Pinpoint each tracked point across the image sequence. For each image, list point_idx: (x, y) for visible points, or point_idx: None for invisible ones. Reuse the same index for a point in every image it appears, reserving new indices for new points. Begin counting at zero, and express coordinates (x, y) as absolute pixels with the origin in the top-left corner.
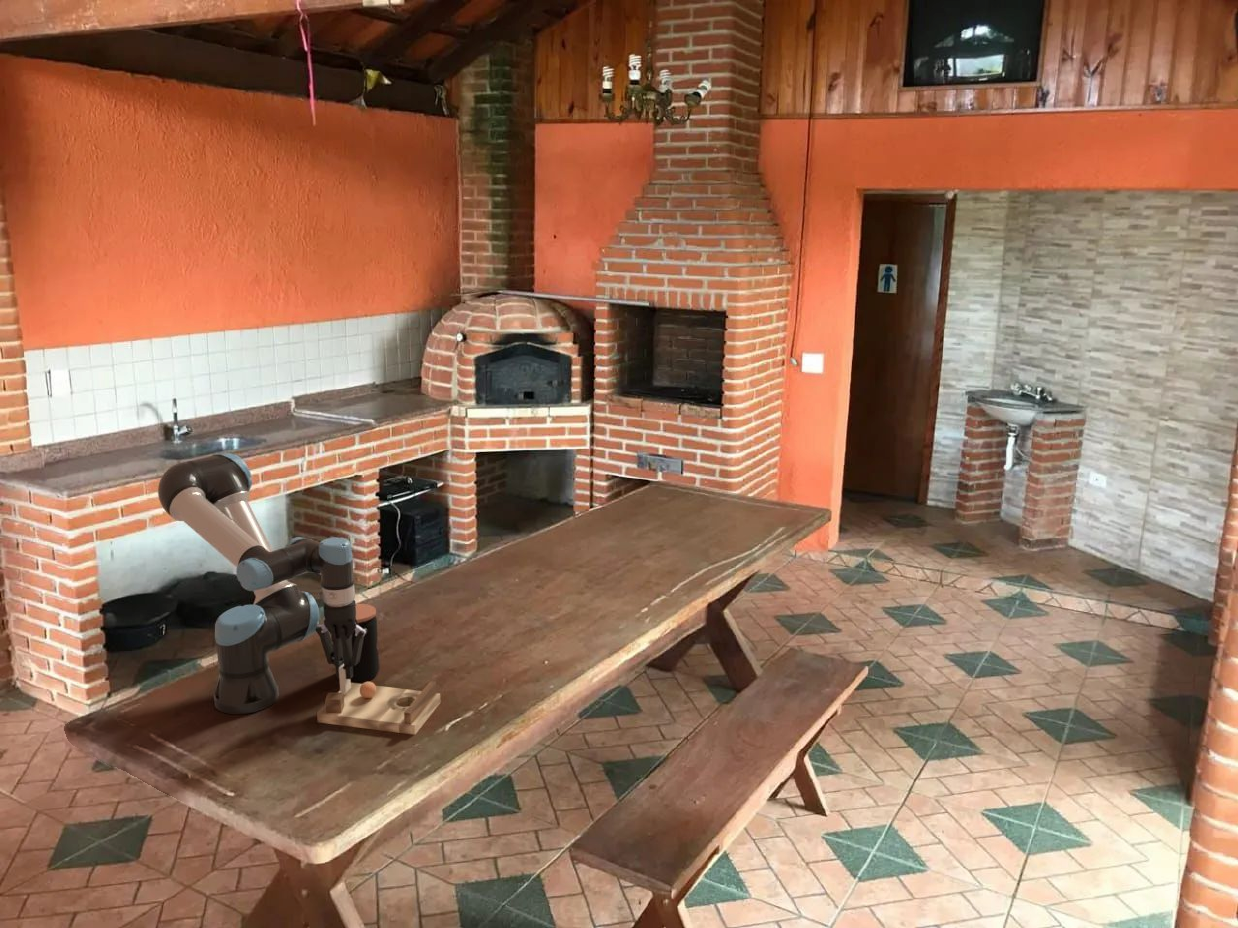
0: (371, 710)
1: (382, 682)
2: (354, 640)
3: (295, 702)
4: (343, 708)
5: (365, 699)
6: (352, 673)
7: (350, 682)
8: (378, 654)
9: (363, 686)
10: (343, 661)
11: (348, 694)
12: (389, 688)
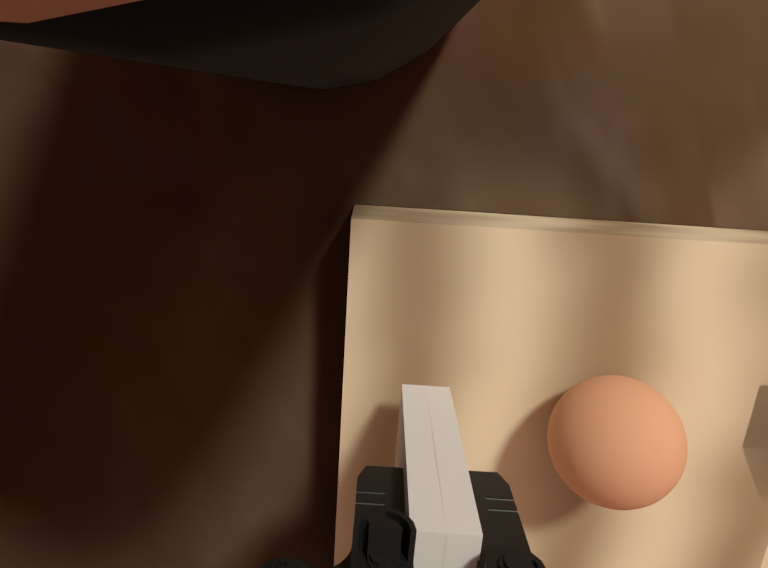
0: (661, 554)
1: (563, 11)
2: (364, 55)
3: (79, 401)
4: None
5: None
6: (512, 507)
7: (455, 415)
8: None
9: (610, 506)
10: (411, 554)
11: None
12: (720, 259)
